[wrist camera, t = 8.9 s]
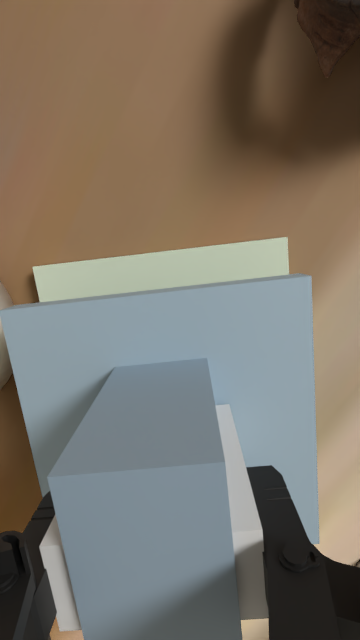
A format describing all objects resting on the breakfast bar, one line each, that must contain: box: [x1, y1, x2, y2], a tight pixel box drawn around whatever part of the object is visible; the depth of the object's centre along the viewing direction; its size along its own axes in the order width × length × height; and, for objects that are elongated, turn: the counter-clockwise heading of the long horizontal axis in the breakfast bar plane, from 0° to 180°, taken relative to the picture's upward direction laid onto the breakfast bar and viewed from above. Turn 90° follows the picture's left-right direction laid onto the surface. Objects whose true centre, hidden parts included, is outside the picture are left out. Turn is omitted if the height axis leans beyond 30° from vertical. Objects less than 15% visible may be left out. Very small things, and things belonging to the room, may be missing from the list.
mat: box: [33, 237, 289, 302], centre depth 20 cm, size 16×14×1 cm
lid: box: [0, 273, 319, 640], centre depth 12 cm, size 13×13×8 cm
